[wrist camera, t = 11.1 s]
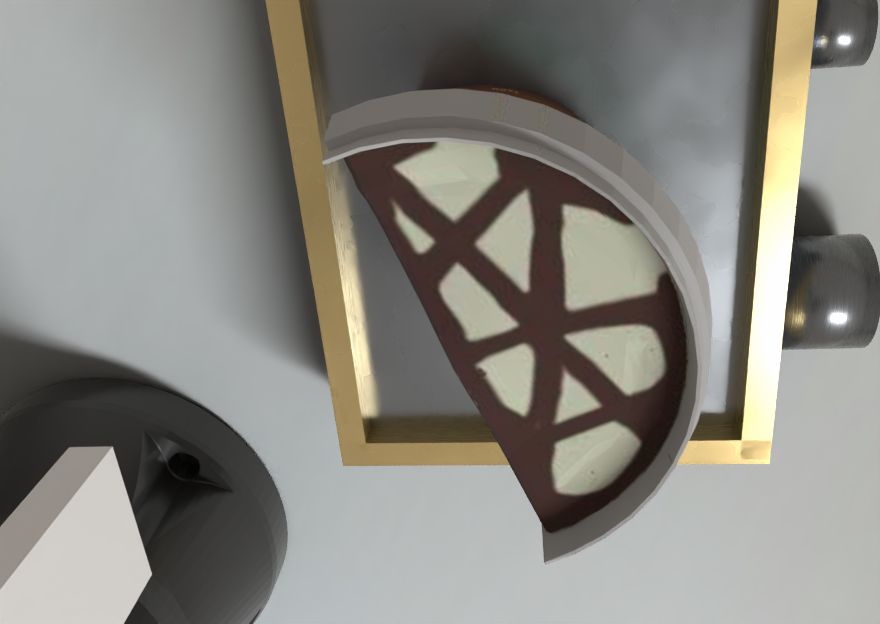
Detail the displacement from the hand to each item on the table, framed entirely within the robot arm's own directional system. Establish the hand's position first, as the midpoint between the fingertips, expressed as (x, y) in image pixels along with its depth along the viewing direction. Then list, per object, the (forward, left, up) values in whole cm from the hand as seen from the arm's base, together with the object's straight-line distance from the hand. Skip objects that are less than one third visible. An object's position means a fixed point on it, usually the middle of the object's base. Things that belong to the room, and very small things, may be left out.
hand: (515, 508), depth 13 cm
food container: (+1, 0, -16) cm, 16 cm away
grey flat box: (+2, 0, -19) cm, 19 cm away
